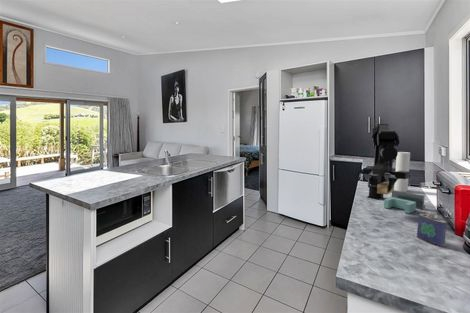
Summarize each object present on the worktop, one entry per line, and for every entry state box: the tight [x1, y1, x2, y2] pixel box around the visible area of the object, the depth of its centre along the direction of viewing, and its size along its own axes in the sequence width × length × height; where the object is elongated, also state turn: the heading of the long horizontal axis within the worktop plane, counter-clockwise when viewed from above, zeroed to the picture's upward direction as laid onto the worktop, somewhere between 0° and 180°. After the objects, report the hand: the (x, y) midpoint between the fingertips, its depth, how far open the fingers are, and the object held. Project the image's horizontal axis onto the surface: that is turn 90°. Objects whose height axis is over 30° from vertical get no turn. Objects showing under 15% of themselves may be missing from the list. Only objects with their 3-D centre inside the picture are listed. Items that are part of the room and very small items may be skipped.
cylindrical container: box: [394, 151, 411, 193], centre depth 156 cm, size 7×7×25 cm
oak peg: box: [377, 181, 395, 196], centre depth 115 cm, size 4×10×4 cm, turn 131°
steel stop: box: [391, 190, 426, 211], centre depth 127 cm, size 14×4×7 cm, turn 35°
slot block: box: [383, 196, 417, 214], centre depth 121 cm, size 11×8×4 cm
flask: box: [416, 212, 448, 248], centre depth 87 cm, size 9×3×11 cm, turn 15°
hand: (383, 190), depth 114 cm, fingers closed on oak peg, 4 cm apart
